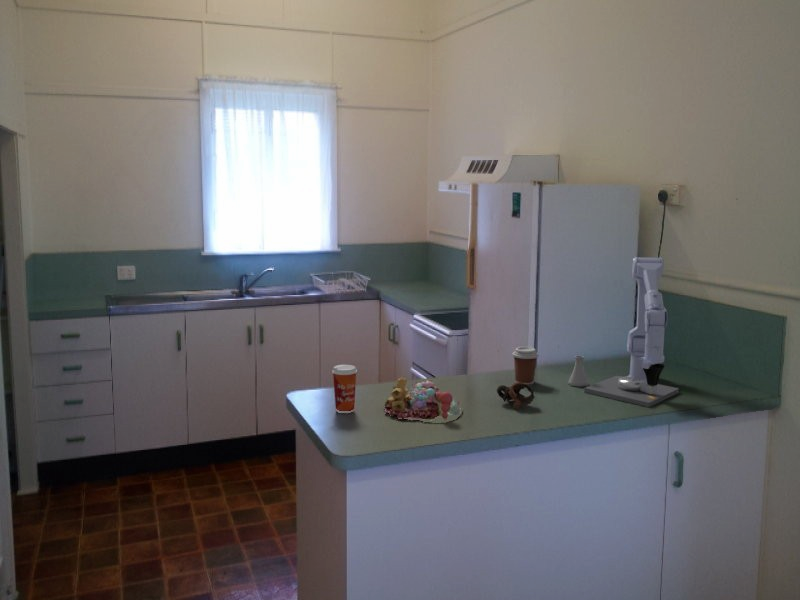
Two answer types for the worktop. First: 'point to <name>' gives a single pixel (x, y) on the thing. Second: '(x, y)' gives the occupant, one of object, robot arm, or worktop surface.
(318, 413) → the worktop surface
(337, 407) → the paper cup
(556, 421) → the worktop surface
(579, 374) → the flask
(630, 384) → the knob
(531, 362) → the coffee cup
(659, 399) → the base plate
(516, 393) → the brown pretzel
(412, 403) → the candy landscape model
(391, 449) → the worktop surface
